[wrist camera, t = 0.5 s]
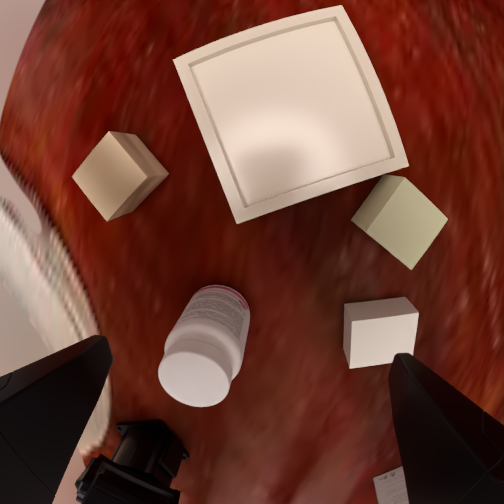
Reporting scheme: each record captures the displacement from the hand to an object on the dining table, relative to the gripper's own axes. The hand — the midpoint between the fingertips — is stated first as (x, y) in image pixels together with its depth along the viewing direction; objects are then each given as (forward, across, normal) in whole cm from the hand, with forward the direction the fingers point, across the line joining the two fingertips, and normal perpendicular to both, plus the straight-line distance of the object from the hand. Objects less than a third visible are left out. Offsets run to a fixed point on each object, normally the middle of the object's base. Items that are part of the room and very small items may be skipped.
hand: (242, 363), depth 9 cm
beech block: (+14, +10, -4) cm, 17 cm away
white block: (+14, -8, +7) cm, 18 cm away
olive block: (+14, -8, -1) cm, 17 cm away
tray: (+14, -1, -8) cm, 17 cm away
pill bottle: (+13, +4, +6) cm, 15 cm away
